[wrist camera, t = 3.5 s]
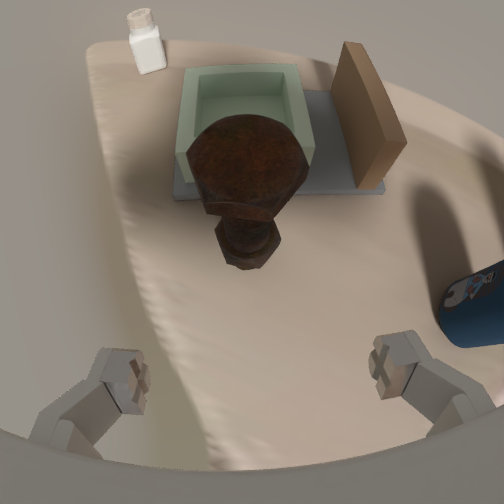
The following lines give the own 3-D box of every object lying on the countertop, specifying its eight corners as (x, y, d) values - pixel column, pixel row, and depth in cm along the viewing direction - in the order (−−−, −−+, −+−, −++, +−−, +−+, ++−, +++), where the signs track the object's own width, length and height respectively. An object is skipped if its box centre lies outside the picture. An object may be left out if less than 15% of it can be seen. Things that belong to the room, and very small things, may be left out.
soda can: (481, 345, 25) (564, 331, 13) (434, 351, 25) (522, 342, 13) (478, 282, 27) (555, 247, 15) (431, 282, 27) (511, 242, 15)
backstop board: (174, 200, 29) (149, 145, 21) (183, 100, 33) (171, 42, 25) (382, 194, 30) (419, 144, 21) (353, 99, 34) (372, 45, 25)
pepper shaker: (168, 68, 36) (155, 14, 27) (140, 77, 35) (122, 24, 26) (165, 54, 37) (153, 3, 28) (139, 62, 36) (123, 12, 27)
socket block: (185, 183, 29) (174, 152, 24) (191, 100, 32) (185, 68, 27) (306, 177, 29) (315, 146, 24) (291, 96, 32) (296, 64, 28)
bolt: (210, 236, 28) (176, 127, 14) (261, 217, 29) (271, 98, 14) (233, 295, 26) (213, 229, 12) (286, 274, 27) (326, 189, 13)
